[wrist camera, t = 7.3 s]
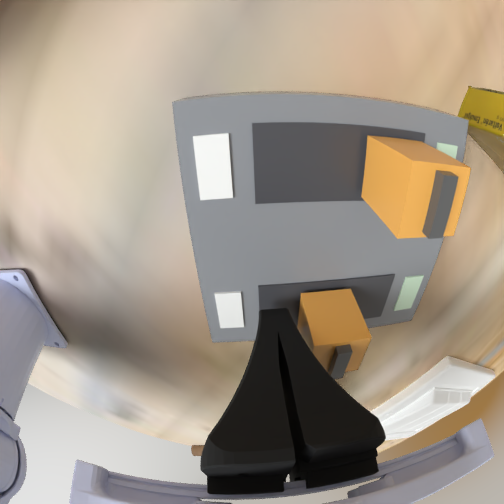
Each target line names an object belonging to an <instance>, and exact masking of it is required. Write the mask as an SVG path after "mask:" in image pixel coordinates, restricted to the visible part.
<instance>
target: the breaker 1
mask: <svg viewBox="0 0 504 504" xmlns="http://www.w3.org/2000/svg"><path fill="white" fill-rule="evenodd" d="M297 329H298V330H299V332H300V334H301V336H302V337H303V339H304V341H305V342H306V344H307V345H308V347H309V348H310V350H311V351H312V353H313V354H314V356H315V357H316V358H317V360H318V361H319V362H320V364H321V365H322V366H323V367H324V369H325V370H326V371H327V372H328V373H329V375H330V376H331V377H332V378H333V379H339V378H343V375H344V373H345V372H348V371H353V370H358V368H359V366H360V364H361V362H362V359H363V357H364V355H365V352H366V350H367V348H368V345H369V343H370V341H371V338H372V337H371V335H370V332H369V330H368V328H367V325H366V323H365V320H364V318H363V316H362V313H361V311H360V309H359V306H358V304H357V302H356V300H355V297H354V295H353V293H352V291H351V289H342V290H331V291H320V292H309V293H301V297H300V307H299V317H298V326H297Z"/></svg>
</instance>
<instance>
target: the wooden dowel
mask: <svg viewBox="0 0 504 504" xmlns="http://www.w3.org/2000/svg"><path fill="white" fill-rule="evenodd" d="M203 448H204V445H192V448H191V450H192V454H193V455H194V456H201V454H202V451H203Z"/></svg>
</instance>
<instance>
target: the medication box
mask: <svg viewBox="0 0 504 504" xmlns="http://www.w3.org/2000/svg"><path fill="white" fill-rule="evenodd" d="M468 87H469V89H468V91H467V93H466V95H465V98H464V100H463V102H462V105H461V108H460V111H459V114H458V117H461V118H464V119H466V120H469V122H468V130H467V132H468V133H469V134H470V135H471V137H472V138H473V139H474V140H475V141H476V142H477V143H478V144H479V145H480V146H481V147H482V148H483V150H484V151H485V152H486V153H487V154H488V155H489V156H490V157H491V159H492V160H493V161H494V162H495V163H496V165H497V166H498V167H499V168H500V169H501V171H502V172H503V173H504V92H500V91H496V90H491V89H485V88H474V87H472V86H468Z"/></svg>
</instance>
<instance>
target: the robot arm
mask: <svg viewBox="0 0 504 504" xmlns="http://www.w3.org/2000/svg"><path fill="white" fill-rule="evenodd" d="M67 344H68V343H67V341H66V340H65V339H64V337H63V336H62V334H61V333H60V331H59V330H58V328H57V327H56V325H55V323H54V322H53V320H52V319H51V317H50V315H49V314H48V312H47V311H46V309H45V307H44V306H43V304H42V302H41V300H40V299H39V297H38V295H37V293H36V292H35V290H34V288H33V286H32V284H31V282H30V280H29V279H28V277H27V275H26V273H25V272H24V271H23V270H20V269H17V270H0V504H8V503H9V501H10V499H11V498H12V497H13V496H14V495H15V494H16V493H17V492H18V491H19V490H20V488H21V486H22V485H23V482H24V480H25V476H26V467H27V466H26V454H25V449H24V446H23V443H22V441H21V439H20V438H19V436H18V435H19V432H20V427H19V426H18V425H16V424H15V423H14V422H13V421H14V419H15V416H16V413H17V410H18V407H19V404H20V401H21V399H22V396H23V393H24V391H25V388H26V385H27V383H28V380H29V378H30V375H31V373H32V370H33V368H34V366H35V363H36V361H37V359H38V356H39V354H40V352H41V350H42V348H43V345H45V346H51V347H59V348H66V347H67ZM385 439H386V436H385V432H384V429H383V427H382V425H381V423H380V421H379V419H378V417H376V416H375V415H374V414H372V413H371V412H369V411H368V410H367V409H365V408H364V407H363V406H362V405H360V404H359V403H358V402H357V401H356V400H355V399H353V398H352V397H351V396H350V395H349V394H348V393H347V392H346V391H345V390H344V389H343V388H342V387H341V386H340V385H339V384H338V383H337V382H336V381H335V380H334V379H333V378H332V377H331V376H330V375H329V373H328V372H327V371H326V370H325V369H324V367H323V366H322V365H321V364H320V362H319V361H318V360H317V358H316V357H315V356H314V354H313V353H312V351H311V350H310V348H309V347H308V345H307V344H306V342H305V341H304V339H303V337H302V336H301V334H300V332H299V330H298V329H297V327H296V325H295V323H294V321H293V319H292V317H291V314H290V312H289V309H287V308H278V309H264V310H260V311H259V322H258V329H257V334H256V339H255V343H254V347H253V350H252V353H251V356H250V359H249V362H248V365H247V368H246V370H245V373H244V375H243V378H242V380H241V382H240V384H239V386H238V388H237V391H236V393H235V395H234V396H233V398H232V400H231V402H230V404H229V405H228V407H227V409H226V410H225V412H224V414H223V415H222V417H221V419H220V420H219V422H218V423H217V424H216V426H215V427H214V429H213V430H212V431H211V433H210V434H209V436H208V438H207V440H206V443H205V445H204V448H203V451H202V454H201V471H202V472H203V473H205V474H206V475H207V485H200V484H186V483H175V482H167V481H159V480H152V479H146V478H140V477H134V476H129V475H124V474H119V473H115V472H110V471H108V470H107V469H105V468H103V467H100V466H97V465H94V464H90V463H87V462H84V461H80V460H76V463H75V469H74V475H73V481H72V487H71V494H70V504H231V503H224V502H209V501H202V500H200V499H224V500H226V499H227V500H228V499H229V500H230V499H231V500H239V499H265V498H277V497H287V496H296V495H303V494H310V493H316V492H321V491H327V490H332V489H337V488H342V487H346V486H350V485H354V484H358V483H362V482H366V481H369V480H372V479H376V478H379V477H381V478H380V479H379V480H377V481H374V482H371V483H368V484H365V485H362V486H359V487H358V488H356V489H354V490H351V491H349V492H348V493H347V494H348V499H344V500H339V501H334V502H329V503H325V504H413V503H415V502H417V501H419V500H421V499H424V498H426V497H428V496H429V495H431V494H433V493H435V492H437V491H439V490H441V489H443V488H445V487H447V486H448V485H450V484H452V483H453V482H455V481H457V480H458V479H460V478H462V477H464V476H465V475H467V474H468V473H470V472H472V471H473V470H475V469H476V468H478V467H479V466H481V465H483V464H484V463H486V462H487V461H489V460H490V459H492V458H493V457H494V452H493V450H492V446H491V443H490V441H489V438H488V435H487V432H486V430H485V427H484V424H483V422H482V419H478V420H476V421H474V422H473V423H471V424H469V425H467V426H465V427H463V428H462V429H461V430H459V431H458V432H456V434H454V435H452V436H450V437H448V438H446V439H444V440H441V441H440V442H437V443H435V444H432V445H430V446H428V447H425V448H423V449H420V450H418V451H415V452H412V453H410V454H407V455H404V456H402V457H399V458H395V459H393V460H389V461H386V462H383V463H380V464H377V461H376V457H377V450H376V448H377V447H378V446H380V445H381V444H382V443H383V442H384V441H385ZM288 474H289V475H290V482H286V477H287V475H288Z"/></svg>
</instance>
